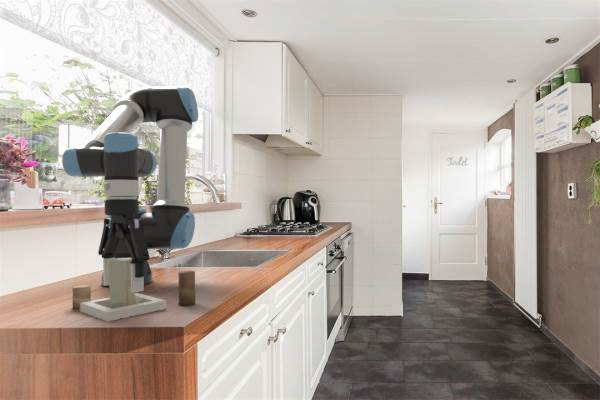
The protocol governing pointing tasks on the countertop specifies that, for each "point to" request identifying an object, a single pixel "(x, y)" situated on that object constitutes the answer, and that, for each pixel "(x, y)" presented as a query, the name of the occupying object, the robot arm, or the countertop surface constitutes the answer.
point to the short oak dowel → (81, 295)
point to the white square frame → (106, 313)
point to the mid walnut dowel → (186, 288)
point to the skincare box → (120, 283)
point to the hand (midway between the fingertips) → (122, 288)
